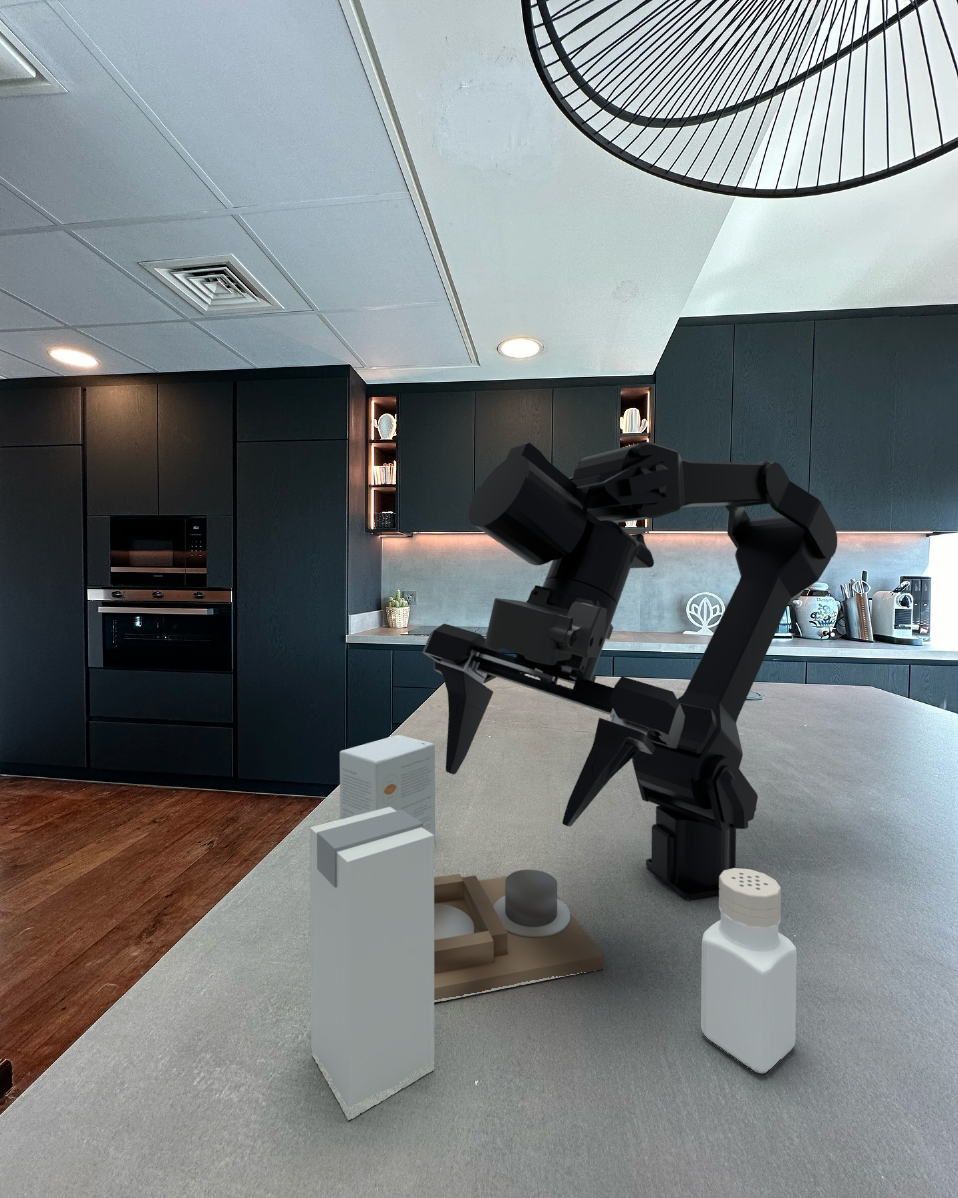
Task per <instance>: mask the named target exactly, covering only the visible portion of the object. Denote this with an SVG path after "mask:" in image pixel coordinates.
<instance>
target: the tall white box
mask: <svg viewBox="0 0 958 1198" xmlns="http://www.w3.org/2000/svg"><path fill="white" fill-rule="evenodd" d="M309 871H310V872H309V881H310V882H309V885H310V886H309V889H310V893H309V894H310V900H309V903H310V909H309V910H310V911H309V912H310V1020H311V1021H310V1030H311V1031H310V1032H311V1033H310V1034H311V1037H310V1039H311V1042H310V1043H311V1045H310V1047H311V1048H312V1049H313V1051H314V1053H315V1054H316V1055H317V1057H318V1059H319V1060H320V1061H321V1063H322V1064H323V1066H324V1067H325V1069H326V1071H327V1072H328V1074H329V1075H330V1077H331V1078H332V1080H333V1083H334V1085H335V1086H336V1088H337V1089H338V1091H339V1093H340V1094H341V1096H342V1097H343V1100H344V1102H345V1104H346V1105H347V1106H348V1107H352V1106H353V1105H354V1104H357V1103H359V1102H361V1101H363V1100H364V1099H365V1098H369V1097H370V1096H371V1095H374V1094H375V1093H378V1092H379V1091H381V1092H382V1091H385V1090H386V1089H389V1088H390V1087H391V1088H392V1087H394V1085H398V1084H399V1082H400V1081H403V1080H404V1079H405V1078H406V1077H409V1076H410V1075H411V1074H412V1073H414V1072H415V1071H418V1070H419V1069H420V1068H421V1067H422V1068H423V1067H424V1066H425V1065H427V1064H428V1063H431V1062H434V1063H435V1004H434V877H435V843H434V835H433V834H431V833H430V832H428V831H427V830H425V829H424V828H423V823H422V822H420V821H419V820H417V819H416V818H414V817H413V816H411V815H409V814H408V813H406V812H405V811H403V810H399V811H396V810H394V809H393V808H391V807H387V808H383V809H379V810H375V811H371V812H368V813H364V814H360V815H356V816H352V817H348V818H344V819H337V820H334V821H329V822H326V823H322V824H317V825H314V826H310V827H309ZM311 1048H310V1049H311Z"/></svg>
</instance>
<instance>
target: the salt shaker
mask: <svg viewBox="0 0 958 1198" xmlns="http://www.w3.org/2000/svg"><path fill="white" fill-rule="evenodd" d="M718 896H719V897H718V909H719V912H720V919H719V920H717V921H715V923H713V924H711V926H709V927H708V928H707V929H706V930H705V931H704V932H703V935H702V940H701V975H700V976H701V979H700V980H701V981H700V982H701V985H700V986H701V987H700V988H701V990H700V994H701V995H700V997H701V998H700V1029H701V1031H702V1032H701V1033H702V1034H703V1033H704V1034H703V1036H704V1035H705V1036H706V1037H707V1038H708V1039H710V1040H711V1041H713V1042H714V1043H717V1044H718V1045H720V1046H721V1047H723V1048H724V1049H725V1050H727V1051H728V1052H730V1053H731V1054H732V1055H735V1056H736V1057H737V1058H739V1059H740V1060H741V1061H743V1062H744V1063H747V1064H748V1065H749V1066H751V1067H752V1068H753V1069H756V1070H759V1071H761V1072H763V1071H768V1070H769V1069H771V1068H772V1067H773V1066H774V1065H775V1064H776V1063H777V1062H778V1061H779V1060H780V1059H781V1060H782V1059H783V1058H784V1057H785V1056H787V1055H788V1053H789V1052H791V1051H792V1049H793V1048H794V1047H795V1045H796V1036H797V1035H796V1033H797V1032H796V1031H797V1030H796V1023H797V1015H796V1014H797V962H798V961H797V955H798V953H797V947H796V946H795V945H794V944H793V942H792V941H791V940H790V939H789V938H788V937H787V936H785V935H783V934H782V933H781V932H779V925H780V923H781V918H782V917H781V916H782V912H781V911H782V910H781V909H782V908H781V907H782V904H781V903H782V902H781V901H782V887H781V886H780V885H779V883H778V882H777V880H776V879H774V878H772V877H771V876H769V875H768V874H765V873H764V872H761V871H757V870H754V869H750V868H737V867H736V868H733V869H728V870H724V871H723V872H722V874H721V875H720V876H719V894H718ZM705 1036H704V1037H705ZM706 1037H705V1038H706ZM707 1038H706V1039H707ZM708 1039H707V1040H708ZM711 1041H710V1042H711ZM781 1060H780V1061H781ZM780 1061H779V1062H780ZM779 1062H778V1063H779ZM778 1063H777V1064H778ZM777 1064H776V1065H777ZM776 1065H775V1066H776ZM775 1066H774V1067H775ZM774 1067H773V1068H774ZM773 1068H772V1069H773ZM772 1069H771V1070H772Z"/></svg>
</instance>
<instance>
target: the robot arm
mask: <svg viewBox="0 0 958 1198" xmlns="http://www.w3.org/2000/svg"><path fill="white" fill-rule="evenodd" d="M768 504H769V506H770V508H771V509H772V510H773V511H774V512H776V513H778V514H779V515H778V516H768V517H759V518H753V519H751V518H750V516H749V515H748V513H747V512H746V510H745V509H746V508H745V507H752V506H753V507H754V506H759V505H760V506H761V505H768ZM716 506H718V507H721V506H725V508H726V510H727V511H728V513H729V516H728V523H727V530H726V531H727V536H728V537H729V539H730V541H731V542H732V544H733V545H734V546H735V548H736V551H735V552H734V553H735V554H734V557H735V560H736V561H735V562H736V564H737V568H738V572H739V575H740V578H739V581H738V582H737V584H736V587H735V589H734V590H733V593H732V595H731V597H730V600H729V601H728V603H727V605H726V607H725V609H724V612H723V613H722V615H721V617H720V620H719V621H718V624H717V626H716V627H715V630H714V632H713V634H712V635H711V638H710V640H709V642H708V644H707V646H706V648H705V650H704V652H703V654H702V656H701V658H700V659H699V662H698V665H697V666H696V668H695V671H694V673H693V675H692V676H691V679H690V680H689V682H688V684H687V687H686V689H685V690H684V693H683V694H682V695H681V696H680V697H678V698H677V696H676V694H675V693H674V691H673V690H669V689H665V688H663V687H659V686H656V685H653V684H649V683H645V682H642V681H639V680H636V679H633V678H629V677H625V676H621V677H620V678H619V679H618V681H617V682H616V684H614V687H613V686H610V685H605V684H602V683H600V682H597V681H596V679H597V676H596V675H595V670H596V668H597V665H598V663H599V659H600V656H601V653H602V651H603V649H604V645H605V643H606V640H609V641H610V638H611V635H612V634H613V630H614V626H613V625H612V624H613V623H612V622H613V619H614V616H615V614H616V610H617V608H618V606H619V602H620V599H621V598H622V597H621V596H622V594H623V591H624V588H625V586H626V582H627V579H628V577H629V573H630V571H631V569H647V568H649V569H650V568H653V566H654V564H655V560H654V557H653V555H652V554H653V553H652V552H651V550H650V549H649V547H647V544H646V542H645V538H644V535H643V534H642V533H636V534H630V533H629V532H628V531H626V530H625V529H624V528H623V527H622V526H620V525H619V524H618V523H627V522H634V521H642V520H652V519H657V518H660V517H663V516H666V515H669V514H673V513H675V512H678V511H680V510H681V509H682V508H693V507H694V508H695V507H696V508H697V507H698V508H699V507H716ZM468 519H469V522H470V523H471V524H472V525H473V527H476V528H477V529H478V530H480V531H481V532H483V533H484V534H485V535H487V536H488V537H490V538H492V540H494V541H496V542H497V543H499V544H500V545H502V546H503V547H505V548H506V549H508V550H509V551H511V552H512V553H513V554H515V555H517V556H518V557H519V558H521V559H522V560H524V561H525V562H527V564H529V565H532V566H542V565H545V564H548V563H550V562H551V564H550V567H549V569H548V571H547V575H546V577H545V579H544V582H543V585H541V586H540V585H538V584H537V585H536V584H535V585H534V587H533V588H532V589H531V591H530V593H529V596H528V599H527V600H526V601H522V600H517V599H515V600H514V599H507V598H498V597H495V598H494V599H493V605H492V608H491V614H490V619H489V621H488V626H487V631H486V636H485V637H484V636H483V635H482V634H480V633H479V632H474V631H471V630H468V629H464V628H461V627H458V626H454V625H451V624H448V623H442V624H441V625H439V626H438V627H436V628H435V629H434V630H433V631H432V632H430V634H429V635H428V639H427V641H426V643H425V645H424V648H423V650H422V652H421V653H422V654H423V655H425V656H427V657H429V658H431V660H433V670H434V671H435V672H437V673H438V674H440V675H442V678H443V681H444V685H445V688H446V690H447V691H446V692H447V702H448V703H447V704H448V705H447V706H448V718H447V719H448V721H447V722H448V723H447V738H446V753H445V755H446V756H445V757H446V758H445V772H446V773H449V774H450V775H456V774H457V773H458V771H459V769H460V767H461V766H462V764H463V762H464V760H465V759H466V757H467V755H468V752H469V750H470V748H471V746H472V744H473V741H474V738H475V736H476V733H477V732H478V729H479V728H480V727H479V726H480V724H481V722H482V720H483V717H484V715H485V713H486V710H487V708H488V706H489V703H490V701H491V699H492V697H493V694H494V691H493V690H492V689H490V688H489V687H487V686H486V685H484V684H486V683H488V682H490V681H492V680H494V679H496V678H497V679H502V680H504V681H508V682H510V683H513V684H517V685H519V686H522V687H525V688H529V689H531V690H534V691H536V692H540V693H543V694H546V695H549V696H553V697H555V698H558V699H561V700H564V701H566V702H571V703H573V704H575V705H578V706H582V707H585V708H588V709H592V710H594V711H597V712H600V713H603V714H606V715H609V717H610V718H611V720H608V719H604V718H602V717H599V718H598V720H597V724H596V729H595V734H594V739H593V744H592V746H591V748H590V751H589V752H588V756H587V757H586V760H585V762H584V764H583V766H582V768H581V771H580V773H579V775H578V778H577V780H576V782H575V785H574V787H573V789H572V791H571V794H570V796H569V797H568V802H567V805H566V807H565V808H566V809H565V812H564V814H563V818H562V825H563V826H565V827H572V826H573V825H574V823H576V821H577V820H578V819H579V817H580V816H581V815H582V814H583V813H584V811H586V809H587V807H589V805H590V804H592V802H593V801H594V799H595V798H596V797H597V796H598V795H599V793H600V792H601V791H602V789H603V788H605V786H606V785H607V784H608V782H609V781H610V780H611V779H612V778H613V777H614V776H615V775H616V774H617V773H618V772H619V771H620V770H621V769H622V768H623V767H625V766H626V764H628V763H629V762H630V761H631V760H632V766H633V769H634V770H633V771H634V773H635V778H636V781H637V786H638V789H639V793H640V797H641V800H642V801H644V802H647V803H648V802H649V803H652V804H654V805H656V806H655V823H654V824H652V826H651V857H650V858H647V859H645V866H646V867H647V868H648V869H649V870H650V871H651V872H653V873H654V874H655V875H656V876H658V877H659V878H660V879H661V880H662V881H664V882H665V883H666V884H667V885H668V886H669V887H670V888H672V889H673V890H674V891H675V892H676V893H678V894H679V895H680V896H681V897H682V898H684V899H687V900H692V899H698V898H705V897H710V896H716V895H719V876H720V875H721V874H722V872H723V871H724V870H728V869H733V868H737V865H736V863H737V829H739V830H745V829H748V828H749V822H750V821H752V820H754V818H755V813H756V812H757V811H756V810H757V803H758V797H759V796H758V793H757V792H756V791H755V789H754V787H753V786H752V785H751V783H750V782H749V780H748V779H747V778H746V777H745V774H744V773H743V772H742V771H741V770H740V767H741V764H742V763H741V762H742V760H743V757H744V756H743V755H744V753H743V747H742V744H741V739H740V735H739V731H738V726H737V722H738V718H739V715H740V713H741V712H742V709H743V708H744V705H745V703H746V701H747V697H748V696H749V694H750V691H751V689H752V687H753V686H754V685H753V684H754V682H755V680H756V678H757V675H758V673H759V671H760V669H761V668H762V667H761V666H762V664H763V662H764V660H765V658H766V655H767V653H768V651H769V649H770V647H771V644H772V642H773V639H774V637H775V635H776V633H777V631H778V629H779V627H780V624H781V622H782V619H783V617H784V615H785V613H786V610H787V609H788V605H789V604H790V601H791V600H792V599H793V598H794V597H796V596H797V595H799V594H800V593H802V592H803V591H805V590H806V589H808V588H809V587H811V586H813V585H814V584H815V583H817V582H818V581H819V580H820V578H821V577H822V575H823V574H824V572H825V570H826V569H827V567H828V565H829V564H830V562H831V559H832V558H833V557H834V556H835V554H836V551H837V548H838V533H837V530H836V527H835V525H834V523H833V522H832V520H831V518H830V516H829V514H828V513H827V511H826V509H825V507H824V505H823V503H822V501H821V500H820V499H819V498H817V497H816V496H814V495H813V494H811V493H810V492H808V491H806V490H805V489H803V488H801V486H799V485H798V484H795V483H794V482H792V481H791V480H790V478H789V476H788V474H787V473H786V471H785V469H784V468H783V466H782V465H781V464H780V463H778V462H776V461H774V462H772V461H770V460H765V461H759V462H735V461H733V462H732V461H731V462H729V461H728V462H727V461H726V462H725V461H700V460H699V461H697V460H691V461H689V460H687V459H685V458H684V459H683V458H682V456H681V455H680V453H679V452H678V451H677V450H676V449H673V448H669V447H668V446H667V447H666V446H664V445H660V444H658V443H654V442H652V441H651V442H650V441H645V442H640V443H636V444H632V445H628V446H623V447H619V448H616V449H612V450H608V451H604V452H601V453H598V454H592V455H589V456H585V457H583V458H582V459H580V460H579V461H578V465H577V466H576V468H575V470H574V472H573V476H571V477H568V476H567V475H565V474H564V473H563V472H562V471H561V470H559V469H558V467H556V466H555V465H553V463H551V462H550V461H549V460H548V459H547V458H546V457H545V455H544V454H543V453H542V452H541V450H539V449H538V448H537V447H536V446H535V445H534V444H532V443H531V442H526V443H524V444H520V445H517V446H513V447H510V449H509V451H508V454H507V456H506V458H505V460H503V461H502V462H501V463H500V464H498V465H497V466H496V467H495V468H494V469H493V470H492V471H491V472H490V473H489V474H488V475H487V477H486V478H485V479H484V481H483V482H482V484H481V485H479V486H478V487H476V489H475V491H474V493H473V496H472V497H471V501H470V504H469V507H468ZM501 650H505V651H507V652H509V653H513V654H514V655H515V656H512V655H509V654H506V653H503V652H502V651H501ZM528 675H529V676H528ZM537 678H538V679H537ZM558 680H560V681H563V682H566V683H568V684H572V685H573V687H568V686H566V685H565V686H564V685H562V684H558Z"/></svg>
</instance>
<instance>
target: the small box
mask: <svg viewBox="0 0 958 1198" xmlns="http://www.w3.org/2000/svg"><path fill="white" fill-rule="evenodd" d="M435 746H436V745H435V744H434V743H432V742H428V741H425V740H420V739H417V738H413V737H409V736H405V735H401V734H396V735H395V734H394V735H392V736H389V737H385V738H382V739H379V740H375V741H371V742H367V743H364V744H362V745H357V746H353V747H350V748H347V749H342V750H340V751H339V801H340V802H339V803H340V804H339V809H340V810H339V812H340V814H339V815H340V819H344V818H348V817H352V816H356V815H360V814H364V813H368V812H371V811H375V810H379V809H383V808H387V807H391V808H393V809H394V810H396V811H399V810H403V811H405V812H406V813H408V814H409V815H411V816H413V817H414V818H416V819H417V820H419V821H420V822H422V823H423V828H424V829H425V830H427V831H428V832H430V833H431V834H433V835H434V844H436V765H435V763H436V759H435V758H436V757H435V756H436V754H435V753H436V751H435ZM340 819H339V820H340Z"/></svg>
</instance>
